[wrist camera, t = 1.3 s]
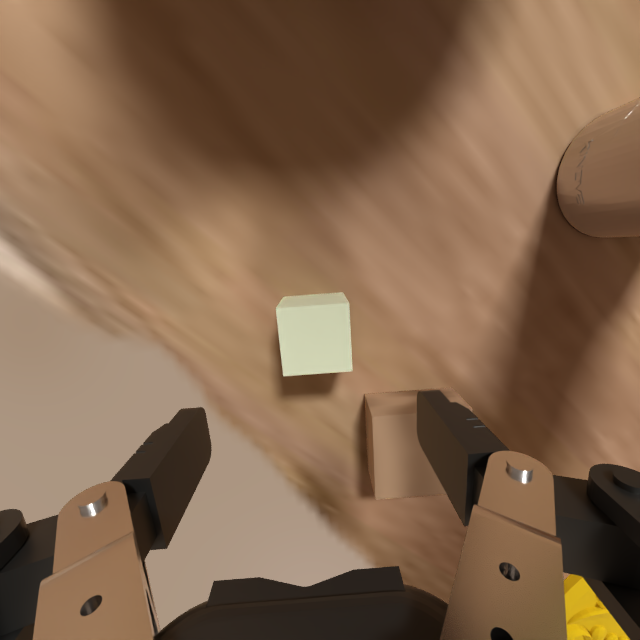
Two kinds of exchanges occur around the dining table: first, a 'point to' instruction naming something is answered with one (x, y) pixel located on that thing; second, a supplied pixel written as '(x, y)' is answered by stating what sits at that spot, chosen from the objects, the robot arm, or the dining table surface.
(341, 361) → the sage wooden cube
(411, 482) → the tan square block
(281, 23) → the dining table surface
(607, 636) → the decorative medallion
